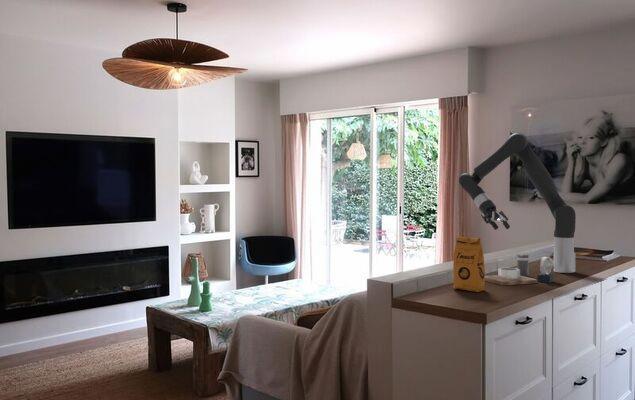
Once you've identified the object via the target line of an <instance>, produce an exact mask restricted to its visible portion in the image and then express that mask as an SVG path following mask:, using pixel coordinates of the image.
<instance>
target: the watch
mask: <svg viewBox="0 0 635 400" xmlns="http://www.w3.org/2000/svg"><path fill="white" fill-rule="evenodd" d="M553 268H554V259H553V258H551V257H548V256H542V257H541V259H540V262H539V270H540V273H538V274H537V277H536V279H537V282H538V283H539V282H540V283H541V282H542V283H549V284H551V283H553V282H554V277H555V276H554V275H555V274H551V272H552V269H553Z"/></svg>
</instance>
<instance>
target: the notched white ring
mask: <svg viewBox="0 0 635 400" xmlns="http://www.w3.org/2000/svg"><path fill="white" fill-rule="evenodd" d="M497 275H498V278H500V279H507V280H516V279H520V269H517V267H498V268H497Z"/></svg>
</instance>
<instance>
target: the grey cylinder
mask: <svg viewBox="0 0 635 400" xmlns="http://www.w3.org/2000/svg"><path fill="white" fill-rule="evenodd" d="M516 255H517V256H516V262H517V263H516V268H517V269H520V276H524V277H528V278H529V260H530V257H529V255H528V254H524V253H523V254H521V253H520V254H516Z"/></svg>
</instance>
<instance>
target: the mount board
mask: <svg viewBox="0 0 635 400" xmlns="http://www.w3.org/2000/svg"><path fill="white" fill-rule="evenodd" d="M485 282H489V283H493V284H497V285H499V286H512V285H513V286H515V285H528V284H538V281H537V278H532V277H529V276H528V277H524V276H520V279H516V280H507V279H500V278H498V274H497V275H496V274H495V275H494V274H493V275H485Z"/></svg>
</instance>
